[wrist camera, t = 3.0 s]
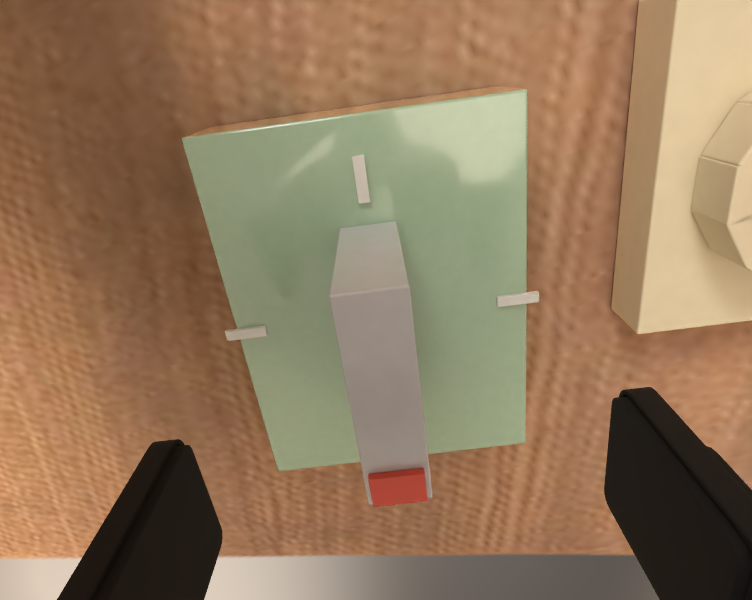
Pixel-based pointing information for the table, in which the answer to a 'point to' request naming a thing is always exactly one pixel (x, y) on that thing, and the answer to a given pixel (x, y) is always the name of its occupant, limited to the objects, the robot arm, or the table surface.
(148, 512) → the robot arm
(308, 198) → the base
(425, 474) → the red-tabbed grey block
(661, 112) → the beige button housing
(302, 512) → the table surface
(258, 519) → the table surface
